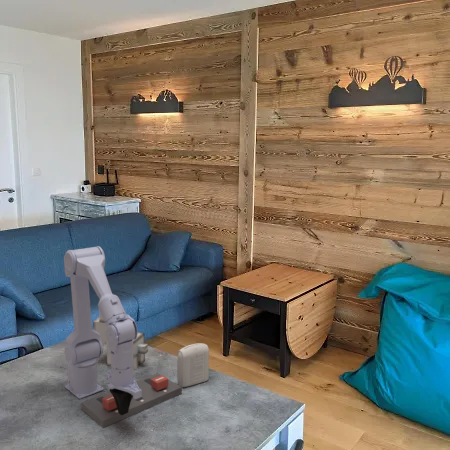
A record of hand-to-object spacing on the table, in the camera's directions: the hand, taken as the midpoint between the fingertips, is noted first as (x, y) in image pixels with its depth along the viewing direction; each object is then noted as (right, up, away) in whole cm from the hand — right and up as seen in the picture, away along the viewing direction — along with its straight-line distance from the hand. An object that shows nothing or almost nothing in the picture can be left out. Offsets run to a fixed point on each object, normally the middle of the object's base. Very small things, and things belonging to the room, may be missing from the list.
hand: (123, 413), depth 128 cm
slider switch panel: (0, -1, +12) cm, 12 cm away
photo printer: (+17, 0, +23) cm, 29 cm away
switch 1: (-4, 0, +4) cm, 6 cm away
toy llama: (-8, +3, +35) cm, 36 cm away
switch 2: (+8, +2, +15) cm, 17 cm away
